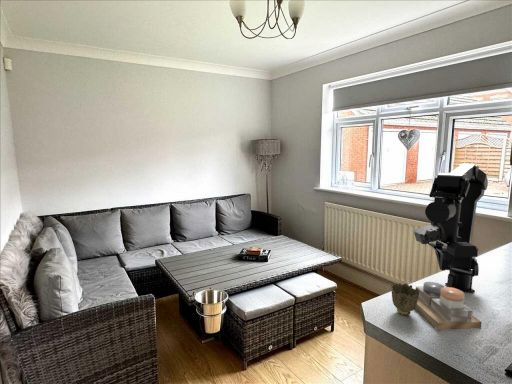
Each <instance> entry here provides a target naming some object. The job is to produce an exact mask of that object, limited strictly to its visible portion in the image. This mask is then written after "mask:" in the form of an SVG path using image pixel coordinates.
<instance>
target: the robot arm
mask: <svg viewBox="0 0 512 384" xmlns="http://www.w3.org/2000/svg"><path fill="white" fill-rule="evenodd" d="M488 184H489V181H488V174H487V173H486V172H484V171H482V170H481V169H480V168H479V164H476V163H460V164H458V166H457V167H456V168H455V169H453V170H452V171H451V172H450V171H449V172H439V173H438V174H437V175H436V176H435V177H434V180H433V182H432V185H431V189H430V191H429V192H430V193H429V195H428V196H429V198H434V200H433V201H431V202H430V203H428V205H426V207H425V209H424V213H425V216H426V218H427V220H429V221H430V224H429V225H424V226H421V227H418V228H415V229H414V230H413V234H414V238H415V241H416V242H419V243H421V245H427V244H428V246H430V247H431V249H433V250H434V252H435V256H436V261H437V264H438V267H439V270H440V271H442V272H443V271H449V272H448V274H447V282H445V283H444V285H445V286H446V287H451V288H456V289H459V290H461V291H462V292H464V293H475V292H476V291H475V289H473V278H474V277H478V276H479V272H480V270H479V269H480V268H479V263H478V260H477V258H479V248H478V247H477V246H476V245H474V244H472V239H473V233H474V226H475V220H476V219H475V218H476V212H477V205H478V202H479V200H481V199H482V198H483V197H484V196H485V191H487V189H488Z"/></svg>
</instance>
